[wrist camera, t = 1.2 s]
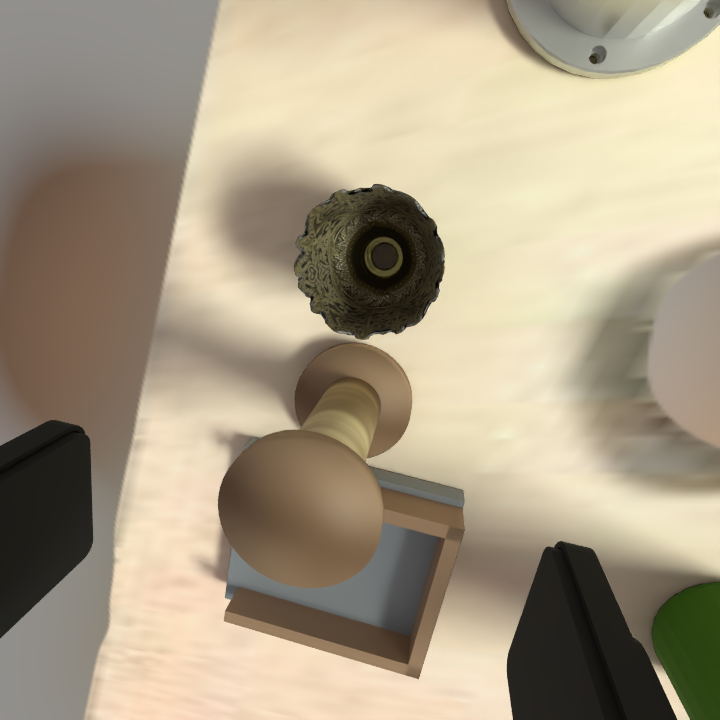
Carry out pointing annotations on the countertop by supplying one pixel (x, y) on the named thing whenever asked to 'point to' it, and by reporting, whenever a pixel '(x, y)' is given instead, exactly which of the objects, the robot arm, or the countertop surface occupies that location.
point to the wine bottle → (692, 648)
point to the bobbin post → (319, 472)
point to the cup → (369, 261)
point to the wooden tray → (367, 584)
